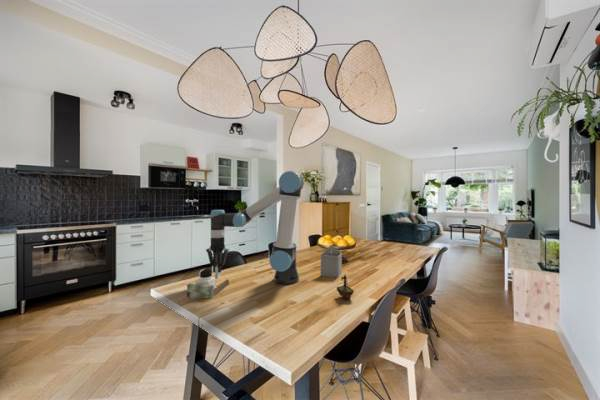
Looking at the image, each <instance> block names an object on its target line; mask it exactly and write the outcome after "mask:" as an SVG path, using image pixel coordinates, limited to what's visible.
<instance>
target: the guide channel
mask: <svg viewBox="0 0 600 400" xmlns="http://www.w3.org/2000/svg"><path fill="white" fill-rule="evenodd" d="M229 283H230V279H226V280H224V281H223V282H221V283H220V284H219V285H218V286H215V289H214V285H206V284H196V283H188V284H187V285H186V297H187V298H197V299H199V298H200V299H212V298H214V297H215V296H216V295H218V294H219V293H220V292H221V291H222V290H223V289H225V288H226V287H227V286H228V285H230V284H229Z"/></svg>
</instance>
